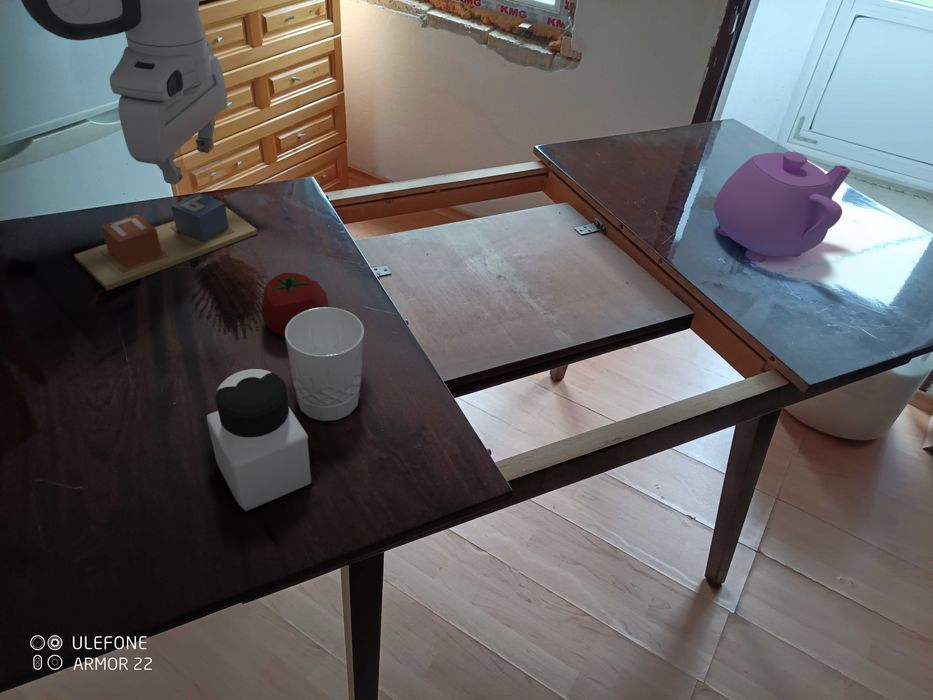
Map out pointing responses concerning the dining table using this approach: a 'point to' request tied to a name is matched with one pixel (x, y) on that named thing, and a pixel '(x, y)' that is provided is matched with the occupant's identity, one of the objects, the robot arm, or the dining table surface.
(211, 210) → the tile
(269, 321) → the tomato
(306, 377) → the white cup
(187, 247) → the word board
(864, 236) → the dining table surface
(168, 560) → the dining table surface
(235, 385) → the medicine bottle
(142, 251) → the tile
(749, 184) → the teapot
